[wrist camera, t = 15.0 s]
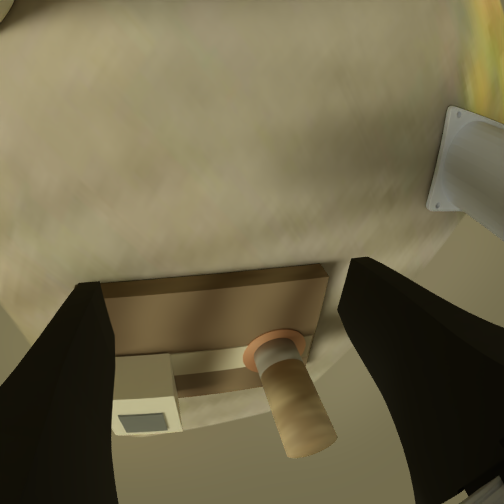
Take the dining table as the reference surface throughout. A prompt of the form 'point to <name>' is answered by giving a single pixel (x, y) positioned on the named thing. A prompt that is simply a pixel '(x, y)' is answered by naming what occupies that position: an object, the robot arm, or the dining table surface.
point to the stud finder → (145, 396)
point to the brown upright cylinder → (293, 399)
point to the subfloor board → (216, 321)
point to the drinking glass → (5, 8)
